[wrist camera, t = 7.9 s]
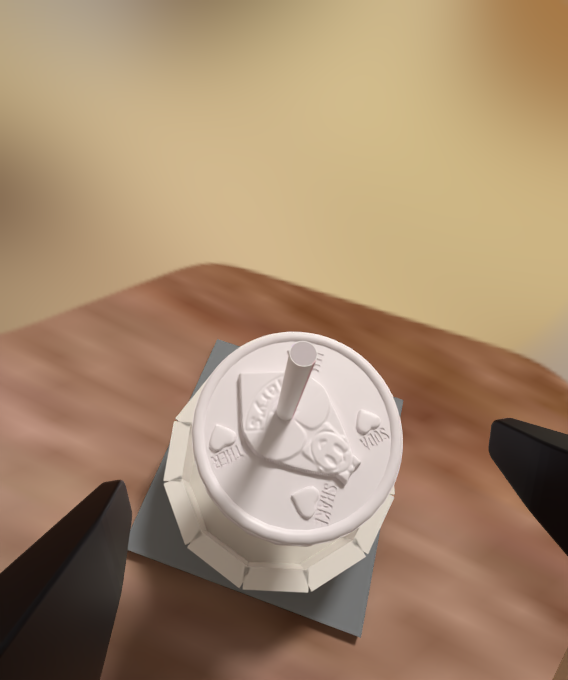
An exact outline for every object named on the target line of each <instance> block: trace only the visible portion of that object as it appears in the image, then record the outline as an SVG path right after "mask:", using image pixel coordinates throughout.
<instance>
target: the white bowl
mask: <svg viewBox="0 0 568 680" xmlns="http://www.w3.org/2000/svg"><path fill="white" fill-rule="evenodd" d="M208 378H209V377H208ZM207 380H208V379H207ZM207 380H206V381H207ZM206 381H205V382H204V384H203V385H202V386H201V387H200V388H199V390H198V391H197V392H196V393H195V395H194V396H193V397H192V398H191V400H190V401H189V402H188V403H187V405H186V406H185V407H184V408H183V410H182V411H181V412H180V413H179V415H178V416H177V417H176V418H175V419H176V420H177V421H174V425H173V430H172V436H171V441H170V447H169V452H168V458H167V463H166V469H165V474H164V480H163V481H165V482H166V483H164V487H165V489H166V492H167V495H168V498H169V501H170V504H171V506H172V509H173V512H174V515H175V518H176V520H177V523H178V526H179V529H180V532H181V535H182V537H183V540H184V543H185V545H186V544H189V543H190V544H189V545H188V547H187V548H188V549H190V550H191V551H192V552H193V553H195V554H196V555H197V556H199V557H200V558H201V559H202V560H204V561H205V562H206V563H207V564H209V565H210V566H211V567H213V568H214V569H215V570H216V571H218V572H219V573H220V574H222V575H223V576H224V577H225V578H227V579H228V580H229V581H231V582H232V583H233V584H234V585H236V586H237V587H238V588H240V586H241V585H242V583H243V590H263V591H284V592H306V593H308V588H309V589H310V591H311V592H312V591H313V590H315V589H317V588H318V587H320V586H321V585H323V584H324V583H326V582H327V581H329V580H331V579H332V578H334V577H335V576H337V575H338V574H340V573H341V572H343V571H345V570H346V569H348V568H349V567H351V566H352V565H354V564H355V563H357V562H359V561H360V560H362V559H363V558H365V557H366V556H365V554H368V553H369V551H370V549H371V547H372V545H373V542H374V540H375V538H376V536H377V534H378V532H379V529H380V527H381V525H382V523H383V521H384V519H385V516H386V514H387V512H388V510H389V508H390V506H391V503H392V501H393V499H394V497H393V496H391V495H395V492H394V486H393V488H392V490H391V492H390V494H389V495H388V497H387V499H386V500H385V502H384V503H383V504H382V506H381V507H380V508H379V510H378V511H377V512H376V513H375V514H374V515H373V516H372V517H371V518H370V519H369V520H368V521H367V522H365V523H364V524H363V525H362V526H360V527H359V528H357V529H356V530H354V531H353V532H351V533H349V534H347V535H345V536H343V537H340V538H338V539H336V540H333V541H329V542H325V543H321V544H316V545H312V546H308V547H302V546H284V545H275V544H273V543H270V542H267V541H265V540H262V539H259V538H257V537H254V536H251V535H249V534H247V533H246V532H245V531H243V530H242V529H241V528H239V527H238V526H237V525H235V524H234V523H233V522H231V521H230V520H229V519H227V518H226V517H225V516H224V515H223V514H222V512H221V511H220V510H219V508H218V507H217V506H216V504H215V503H214V502H213V500H212V499H211V498H210V496H209V495H208V494H207V492H206V490H205V487H204V484H203V482H202V480H201V478H200V476H199V473H198V470H197V467H196V463H195V459H194V454H193V447H192V423H193V416H194V411H195V407H196V404H197V400H198V398H199V395H200V393H201V391H202V389H203V387H204V385H205V383H206ZM364 553H365V554H364Z"/></svg>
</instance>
